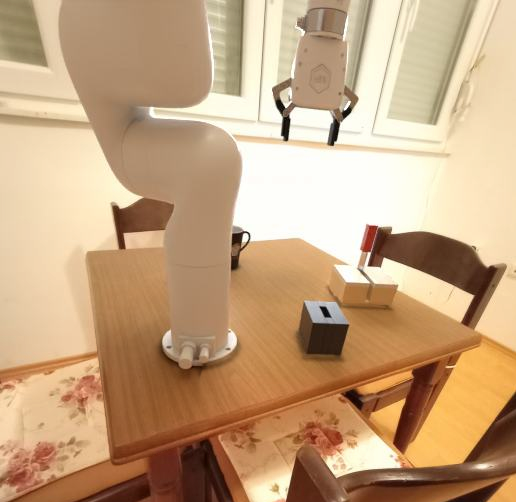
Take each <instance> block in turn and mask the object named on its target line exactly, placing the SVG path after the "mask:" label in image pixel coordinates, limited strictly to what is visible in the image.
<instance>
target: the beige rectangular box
mask: <svg viewBox="0 0 516 502" xmlns="http://www.w3.org/2000/svg"><path fill="white" fill-rule="evenodd" d="M357 268H358V267H356V266H355V265H348V264H347V265H346V264H333V265H332V270H331V274H330V278H329V282H328V289H329V291H330V292H331V294H332V295H333V297H337V298H338V300H339V302H340V303H341V304H358V305H377V306H387V307H388V308H389V309H391V308H392V305H393V302H394V300H395V296H396V294H397V291H398V288H399V283H397V282H396V281H395V279H393V278H392V277H391V276H390V275H388V274H387V272H386V271H384V270H383V269H382V268H381V267H379V266H364V269H363V273H362V274H361V273H360V271H359V270H358V269H357Z"/></svg>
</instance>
